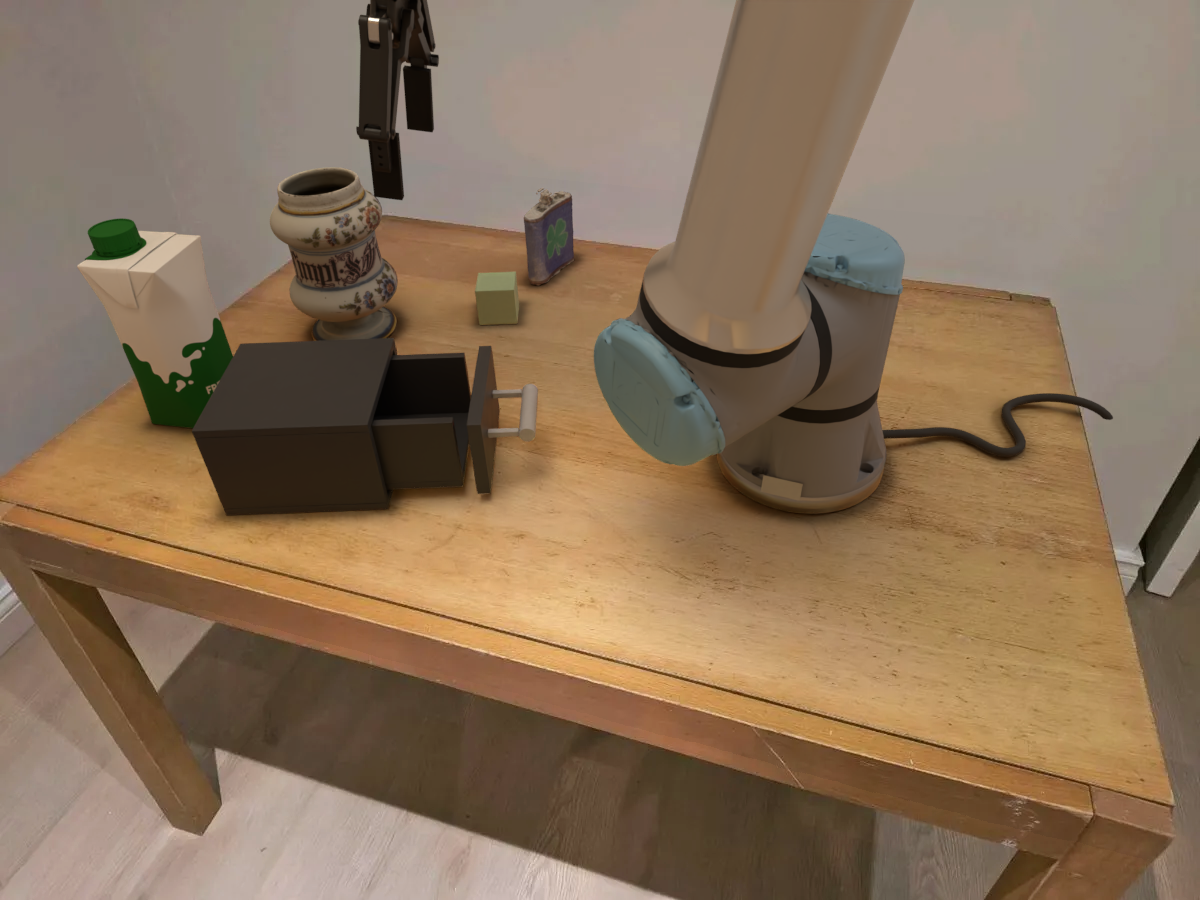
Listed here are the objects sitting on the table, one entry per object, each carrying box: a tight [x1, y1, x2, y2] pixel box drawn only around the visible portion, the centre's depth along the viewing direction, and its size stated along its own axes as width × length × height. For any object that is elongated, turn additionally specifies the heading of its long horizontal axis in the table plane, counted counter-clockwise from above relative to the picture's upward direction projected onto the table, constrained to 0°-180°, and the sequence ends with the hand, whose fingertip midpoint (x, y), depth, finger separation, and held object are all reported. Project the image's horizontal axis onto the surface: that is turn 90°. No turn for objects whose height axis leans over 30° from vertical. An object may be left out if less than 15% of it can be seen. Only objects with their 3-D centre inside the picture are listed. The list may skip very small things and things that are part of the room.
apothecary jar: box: [269, 166, 399, 341], centre depth 97 cm, size 12×12×18 cm
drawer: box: [371, 345, 539, 495], centre depth 80 cm, size 18×12×8 cm
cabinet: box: [191, 337, 398, 516], centre depth 80 cm, size 15×14×10 cm
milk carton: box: [76, 218, 234, 429], centre depth 85 cm, size 9×9×20 cm
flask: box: [523, 187, 575, 287], centre depth 109 cm, size 9×3×11 cm, turn 150°
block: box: [474, 271, 520, 326], centre depth 103 cm, size 4×4×4 cm
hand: (405, 161), depth 88 cm, fingers open, 13 cm apart
